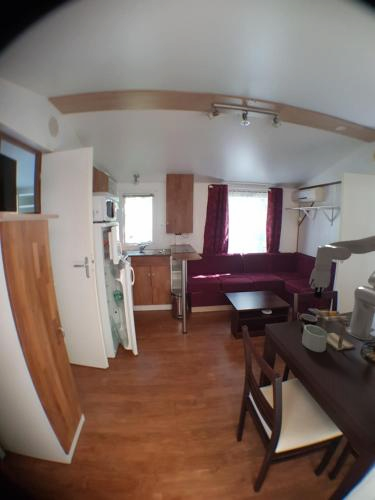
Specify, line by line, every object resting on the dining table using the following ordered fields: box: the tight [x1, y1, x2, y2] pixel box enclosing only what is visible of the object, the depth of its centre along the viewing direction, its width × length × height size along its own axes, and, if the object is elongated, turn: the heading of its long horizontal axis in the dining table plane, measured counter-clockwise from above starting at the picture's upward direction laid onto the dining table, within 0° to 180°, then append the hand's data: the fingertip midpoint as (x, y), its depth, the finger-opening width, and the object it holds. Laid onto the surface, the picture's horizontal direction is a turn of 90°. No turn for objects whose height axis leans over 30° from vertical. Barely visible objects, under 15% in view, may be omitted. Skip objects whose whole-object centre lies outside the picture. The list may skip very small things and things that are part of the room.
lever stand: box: [321, 318, 355, 351], centre depth 108 cm, size 12×13×17 cm
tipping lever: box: [307, 308, 351, 328], centre depth 108 cm, size 17×14×6 cm
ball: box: [329, 310, 337, 316], centre depth 105 cm, size 4×4×4 cm
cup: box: [301, 325, 328, 353], centre depth 106 cm, size 11×11×10 cm
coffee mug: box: [297, 313, 318, 333], centre depth 120 cm, size 12×9×10 cm
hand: (317, 297), depth 110 cm, fingers closed
